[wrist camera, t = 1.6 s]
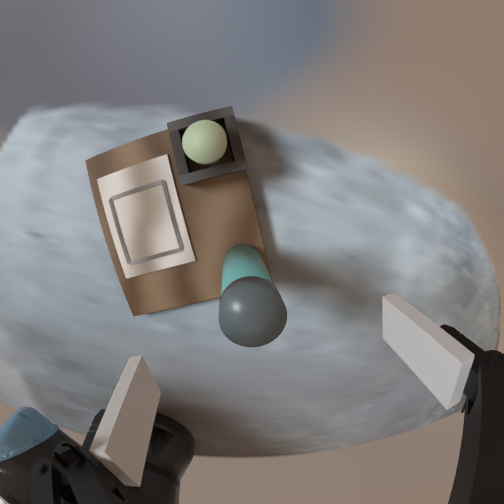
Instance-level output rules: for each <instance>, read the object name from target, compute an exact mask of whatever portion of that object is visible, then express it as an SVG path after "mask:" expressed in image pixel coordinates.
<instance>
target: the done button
mask: <svg viewBox="0 0 504 504" xmlns="http://www.w3.org/2000/svg"><path fill="white" fill-rule="evenodd" d="M182 146H183V150H184V152H185V153H186V155H187V156H188V157H189V158H190V159H192V160H193V161H195V162H197V163H199V164H202V165H210V164H213V163H216V162H217V161H219V160H220V159H221V158H222V157H223V155H224V154H225V151H226V148H227V138H226V134H225V131H224V130H223V128H222V127H221V126H220V125H219V124H218V123H216V122H214V121H210V120H200V121H197V122H195V123H193V124H191V125H190V126H189V127H188V128H187V130H186V131H185V133H184V135H183V139H182Z"/></svg>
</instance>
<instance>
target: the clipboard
mask: <svg viewBox="0 0 504 504" xmlns="http://www.w3.org/2000/svg"><path fill="white" fill-rule="evenodd" d="M200 120H210V121H214V122H216V123H218V124H219V125H220V126H221V127H222V128H223V130H224V131H225V134H226V138H227V148H226V151H225V154H224V155H223V157H222V158H221V159H220V160H219V161H217V162H216V163H213V164H210V165H202V164H199V163H197V162H195V161H193V160H192V159H190V158H189V157H188V156H187V155H186V153H185V152H184V150H183V146H182V139H183V135H184V133H185V131H186V130H187V128H188V127H189V126H190V125H191V124H193V123H195V122H197V121H200ZM167 127H168V129H167V130H164V131H161V132H158V133H155V134H152V135H149V136H146V137H143V138H140V139H138V140H135V141H132V142H129V143H127V144H124V145H121V146H119V147H116V148H114V149H111V150H109V151H106V152H104V153H102V154H99V155H97V156H95V157H92V158H90V159H88V160H86V165H87V170H88V175H89V179H90V184H91V188H92V192H93V197H94V201H95V204H96V208H97V212H98V216H99V219H100V223H101V226H102V230H103V233H104V236H105V240H106V243H107V246H108V249H109V252H110V255H111V258H112V261H113V264H114V267H115V270H116V273H117V275H118V278H119V281H120V284H121V286H122V289H123V292H124V294H125V297H126V299H127V302H128V304H129V307H130V309H131V311H132V314H133V316H138V315H142V314H147V313H152V312H156V311H161V310H166V309H170V308H175V307H179V306H184V305H188V304H192V303H197V302H201V301H205V300H209V299H214V298H218V297H221V292H222V267H223V258H224V255H225V253H226V252H227V251H228V250H229V249H230V248H231V247H233V246H235V245H238V244H247V245H250V246H252V247H254V248H255V249H256V250H257V251H258V252H259V253H260V255H261V258H262V260H263V262H264V264H265V266H266V269H267V271H268V273H269V275H270V271H269V267H268V262H267V258H266V254H265V249H264V245H263V241H262V236H261V232H260V228H259V224H258V219H257V215H256V211H255V207H254V203H253V198H252V194H251V190H250V186H249V182H248V178H247V173H246V169H247V165H246V161H245V157H244V153H243V149H242V145H241V141H240V137H239V132H238V128H237V124H236V120H235V116H234V113H233V109H232V106H230V107H225V108H221V109H217V110H213V111H209V112H204V113H201V114H197V115H193V116H190V117H186V118H183V119H179V120H176V121H172V122H169V123H167ZM270 277H271V275H270Z"/></svg>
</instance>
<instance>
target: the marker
mask: <svg viewBox="0 0 504 504" xmlns="http://www.w3.org/2000/svg"><path fill="white" fill-rule="evenodd" d="M286 321H287V310H286V307H285V304H284V302H283V300H282V298H281V296H280V294H279V292H278V290H277V288H276V287H275V286H274V284H273V282H272V280H271V277H270V275H269V273H268V271H267V269H266V266H265V264H264V262H263V260H262V258H261V255H260V253H259V252H258V251H257V250H256V249H255V248H254V247H252V246H250V245H247V244H238V245H235V246H233V247H231V248H230V249H229V250H228V251H227V252H226V253H225V255H224V258H223V267H222V292H221V298H220V306H219V324H220V327H221V330H222V332H223V333H224V335H225V336H226V337H227V338H228V339H229V340H231V341H232V342H234V343H235V344H238V345H241V346H245V347H258V346H262V345H265V344H268V343H270V342H271V341H273V340H274V339H276V338H277V337H278V336H279V335H280V334H281V332H282V331H283V329H284V327H285V325H286Z"/></svg>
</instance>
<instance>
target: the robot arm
mask: <svg viewBox="0 0 504 504" xmlns="http://www.w3.org/2000/svg"><path fill="white" fill-rule="evenodd" d="M382 302H383V339H384V340H385V341H386V342H387V343H388V344H389V346H390V347H391V348H392V349H393V350H394V351H395V352H396V353H397V354H398V355H399V356H400V358H401V359H402V360H403V361H404V362H405V363H406V364H407V365H408V366H409V367H410V369H411V370H412V371H413V372H414V373H415V374H416V375H417V376H418V377H419V379H420V380H421V381H422V382H423V383H424V384H425V385H426V386H427V388H428V389H429V390H430V391H431V392H432V393H433V394H434V396H435V397H436V398H437V399H438V400H439V401H440V403H441V404H442V405H443V406H444V407H445V408H446V409H447V410H448V409H450V408H451V407H453V406H454V405H456V404H457V403H459V402H460V399H461V397H462V394H463V393H464V394H465V395H466V396H467V399H466V401H465V404H464V406H463V408H462V411H461V413H463V412H464V410H465V416H464V427H463V435H462V442H461V448H460V455H459V460H458V465H457V470H456V475H455V479H454V484H453V487H452V491H451V495H450V498H449V502H448V504H504V354H502V353H501V352H499V351H496V350H489V351H486V352H485V351H483V350H482V349H481V348H480V347H478V346H477V345H476V344H474V343H473V342H472V341H471V340H469V339H468V338H466V337H465V336H464V335H463V334H460V332H459V331H457V330H456V329H455V328H453V327H451V326H448V325H445V324H444V325H442V326H440V327H439V326H438V325H437V324H435V323H434V322H433V321H431V320H430V319H429V318H427V317H426V316H425V315H423V314H422V313H421V312H419V311H418V310H417V309H415V308H414V307H413V306H411V305H410V304H409V303H407V302H406V301H405V300H403V299H402V298H401V297H399V296H398V295H396V294H395V293H391V294H389V295H386V296H383V297H382ZM160 396H161V391H160V389H159V387H158V386H157V384H156V382H155V380H154V378H153V376H152V374H151V373H150V371H149V369H148V367H147V365H146V363H145V361H144V359H143V357H142V356H135V357H130V358H129V360H128V362H127V364H126V366H125V369H124V371H123V373H122V375H121V377H120V379H119V381H118V384H117V386H116V388H115V390H114V392H113V395H112V397H111V399H110V401H109V404H108V406H107V408H106V409H101V410H100V411H99V413H98V414H97V415H96V416H95V417H94V420H93V422H92V426H90V429H89V432H88V433H87V436H86V438H85V440H84V443H83V445H82V446H81V445H79V444H78V443H77V442H75V441H74V440H73V439H71V438H70V437H69V436H68V435H66V434H65V433H64V432H63V431H61V430H60V429H59V427H58V426H57V425H56V424H53V423H51V422H50V421H49V420H48V419H46V418H45V417H44V416H43V415H42V414H40V413H39V412H38V411H37V410H35V409H34V408H32V407H22V408H20V409H19V410H17V411H16V412H15V413H14V414H13V415H12V416H11V417H10V418H9V419H8V420H7V421H6V422H5V423H4V424H3V425H2V426H1V427H0V504H179V489H180V480H181V478H182V477H183V475H184V473H185V471H186V469H187V467H188V466H189V464H190V462H191V460H192V458H193V455H194V439H193V437H192V435H191V434H190V433H189V432H188V431H187V430H186V429H185V428H184V427H183V426H182V425H180V424H179V423H177V422H176V421H174V420H172V419H170V418H168V417H166V416H163V415H161V414H158V413H156V412H157V408H158V404H159V400H160Z"/></svg>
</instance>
